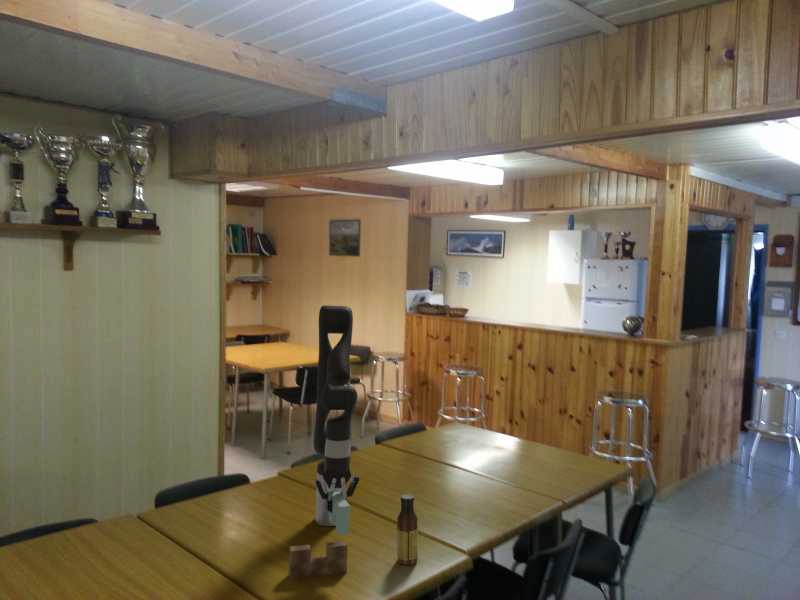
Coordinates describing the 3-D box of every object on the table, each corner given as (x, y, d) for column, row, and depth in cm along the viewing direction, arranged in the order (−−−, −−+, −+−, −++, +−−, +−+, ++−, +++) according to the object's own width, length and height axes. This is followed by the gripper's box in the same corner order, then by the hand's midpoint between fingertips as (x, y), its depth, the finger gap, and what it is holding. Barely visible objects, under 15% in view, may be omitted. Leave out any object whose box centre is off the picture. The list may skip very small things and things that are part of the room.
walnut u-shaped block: (290, 579, 169) (291, 551, 168) (289, 574, 172) (289, 546, 171) (346, 572, 174) (347, 545, 173) (344, 567, 176) (345, 540, 176)
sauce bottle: (417, 556, 185) (419, 492, 184) (418, 566, 179) (420, 500, 178) (395, 556, 185) (397, 492, 184) (396, 566, 179) (398, 499, 178)
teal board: (329, 519, 181) (329, 492, 181) (339, 518, 182) (339, 491, 182) (338, 535, 169) (339, 506, 169) (349, 534, 170) (350, 505, 170)
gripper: (357, 448, 184) (355, 504, 185) (311, 451, 180) (309, 508, 180) (364, 455, 177) (362, 513, 178) (316, 458, 172) (315, 518, 173)
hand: (336, 511), depth 179 cm, fingers closed on teal board, 3 cm apart
